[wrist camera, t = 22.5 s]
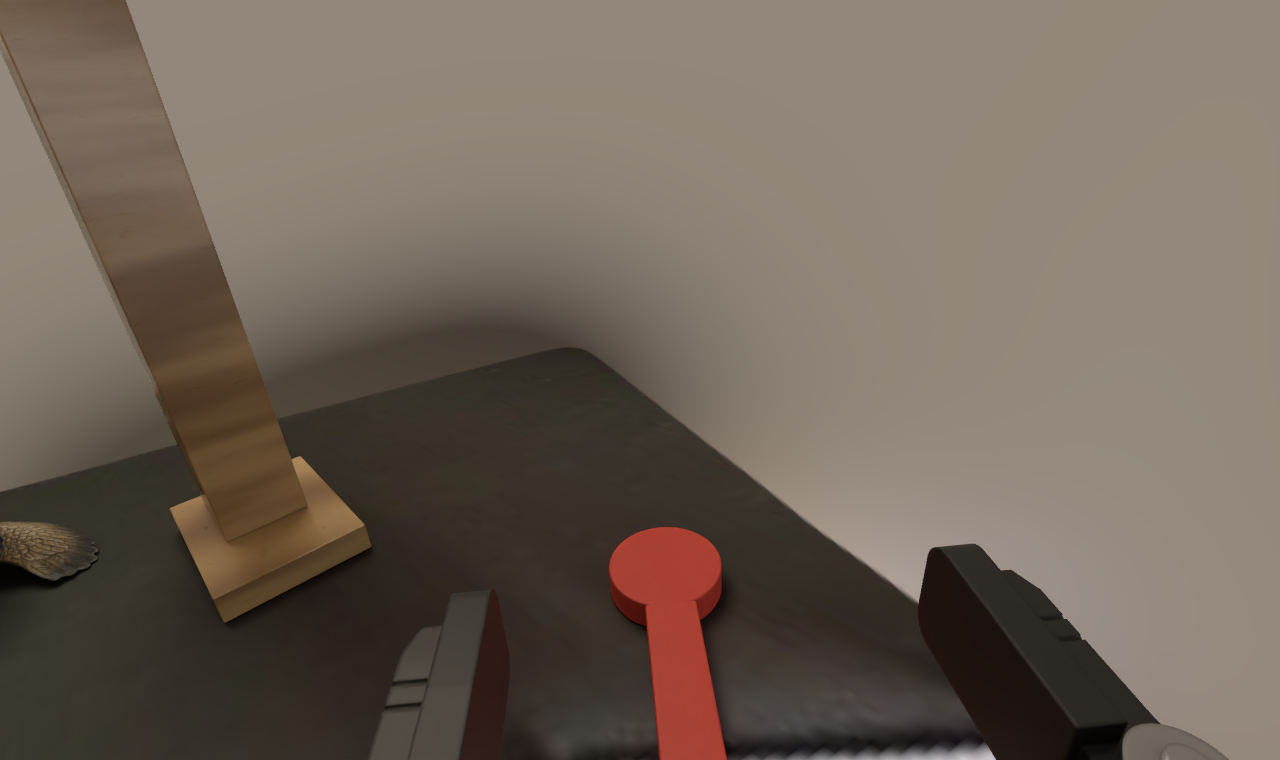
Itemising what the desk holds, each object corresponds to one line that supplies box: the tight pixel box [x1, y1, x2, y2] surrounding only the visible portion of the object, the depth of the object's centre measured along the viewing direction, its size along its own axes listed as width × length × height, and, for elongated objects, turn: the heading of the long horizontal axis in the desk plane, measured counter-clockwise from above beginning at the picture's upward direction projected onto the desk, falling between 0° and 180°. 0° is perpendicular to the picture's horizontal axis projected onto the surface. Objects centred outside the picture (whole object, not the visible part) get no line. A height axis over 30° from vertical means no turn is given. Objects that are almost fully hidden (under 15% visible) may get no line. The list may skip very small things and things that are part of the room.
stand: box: [0, 0, 371, 623], centre depth 27 cm, size 10×7×32 cm
